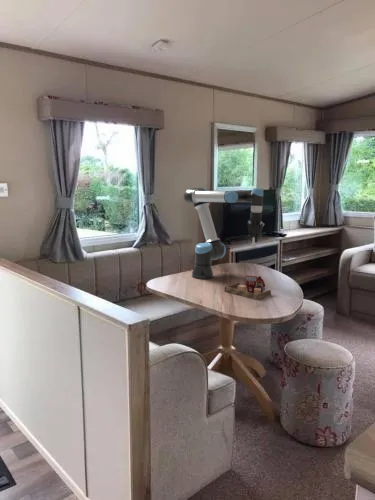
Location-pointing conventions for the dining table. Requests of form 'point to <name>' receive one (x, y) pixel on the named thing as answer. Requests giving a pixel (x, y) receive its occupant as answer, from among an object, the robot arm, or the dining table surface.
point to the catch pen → (246, 294)
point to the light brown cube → (242, 287)
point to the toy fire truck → (254, 283)
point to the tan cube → (257, 290)
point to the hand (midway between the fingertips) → (253, 247)
